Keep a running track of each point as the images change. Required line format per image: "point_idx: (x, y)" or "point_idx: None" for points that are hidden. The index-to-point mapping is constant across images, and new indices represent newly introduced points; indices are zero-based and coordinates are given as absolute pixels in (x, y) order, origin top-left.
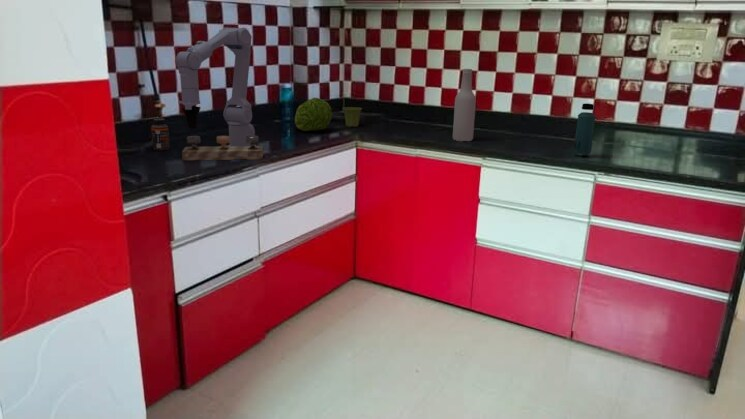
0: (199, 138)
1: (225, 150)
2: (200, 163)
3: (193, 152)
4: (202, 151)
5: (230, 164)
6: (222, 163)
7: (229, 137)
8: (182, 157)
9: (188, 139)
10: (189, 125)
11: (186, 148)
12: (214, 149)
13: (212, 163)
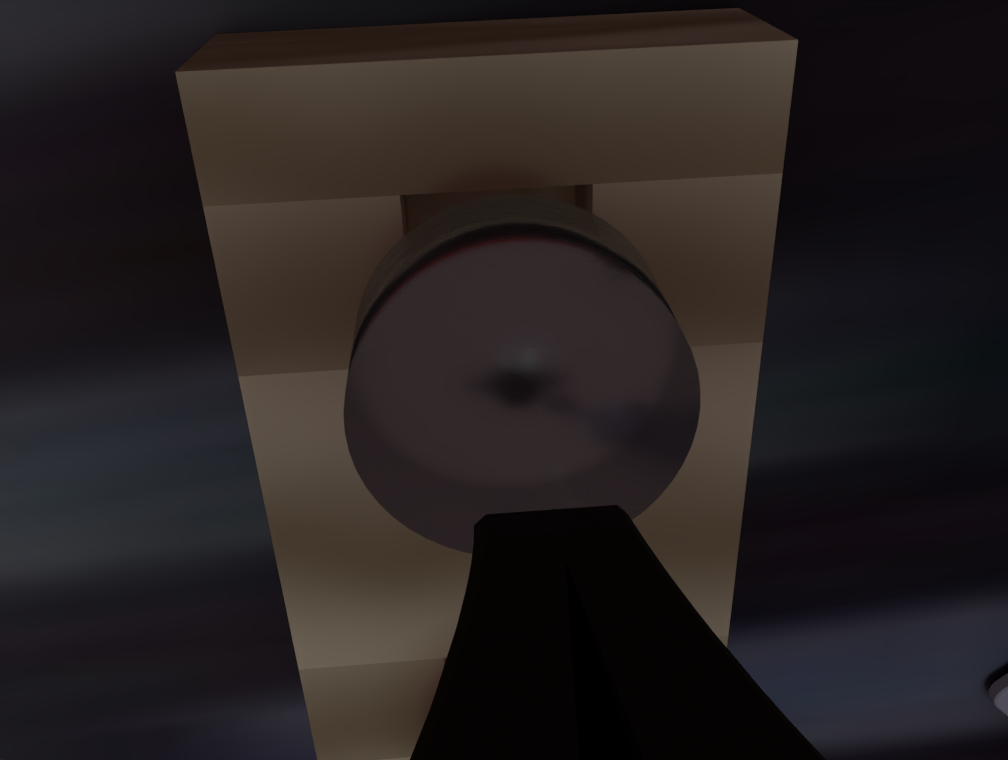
0: (469, 533)
1: (378, 739)
2: (19, 383)
3: (226, 302)
4: (260, 461)
5: (47, 725)
6: (88, 642)
7: None
8: (204, 45)
9: (384, 296)
10: (474, 601)
11: (581, 96)
12: (462, 599)
13: (59, 535)
